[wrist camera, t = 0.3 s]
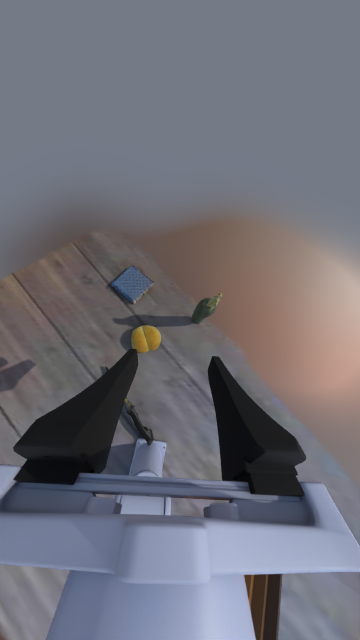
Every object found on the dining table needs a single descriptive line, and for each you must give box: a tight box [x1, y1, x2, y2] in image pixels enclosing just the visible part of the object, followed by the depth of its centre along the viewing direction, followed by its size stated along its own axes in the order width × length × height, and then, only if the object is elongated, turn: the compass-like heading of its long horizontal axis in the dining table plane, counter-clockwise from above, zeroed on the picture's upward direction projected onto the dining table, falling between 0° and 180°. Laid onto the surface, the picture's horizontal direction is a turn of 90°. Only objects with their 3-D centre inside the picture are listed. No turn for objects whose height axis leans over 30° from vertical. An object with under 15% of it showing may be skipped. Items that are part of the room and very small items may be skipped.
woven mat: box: [111, 265, 154, 304], centre depth 44 cm, size 10×11×2 cm
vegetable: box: [192, 293, 222, 324], centre depth 35 cm, size 4×4×20 cm
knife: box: [105, 366, 153, 446], centre depth 36 cm, size 23×2×5 cm, turn 36°
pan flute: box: [244, 574, 282, 640], centre depth 28 cm, size 25×3×25 cm
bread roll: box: [131, 325, 161, 353], centre depth 40 cm, size 8×9×4 cm
